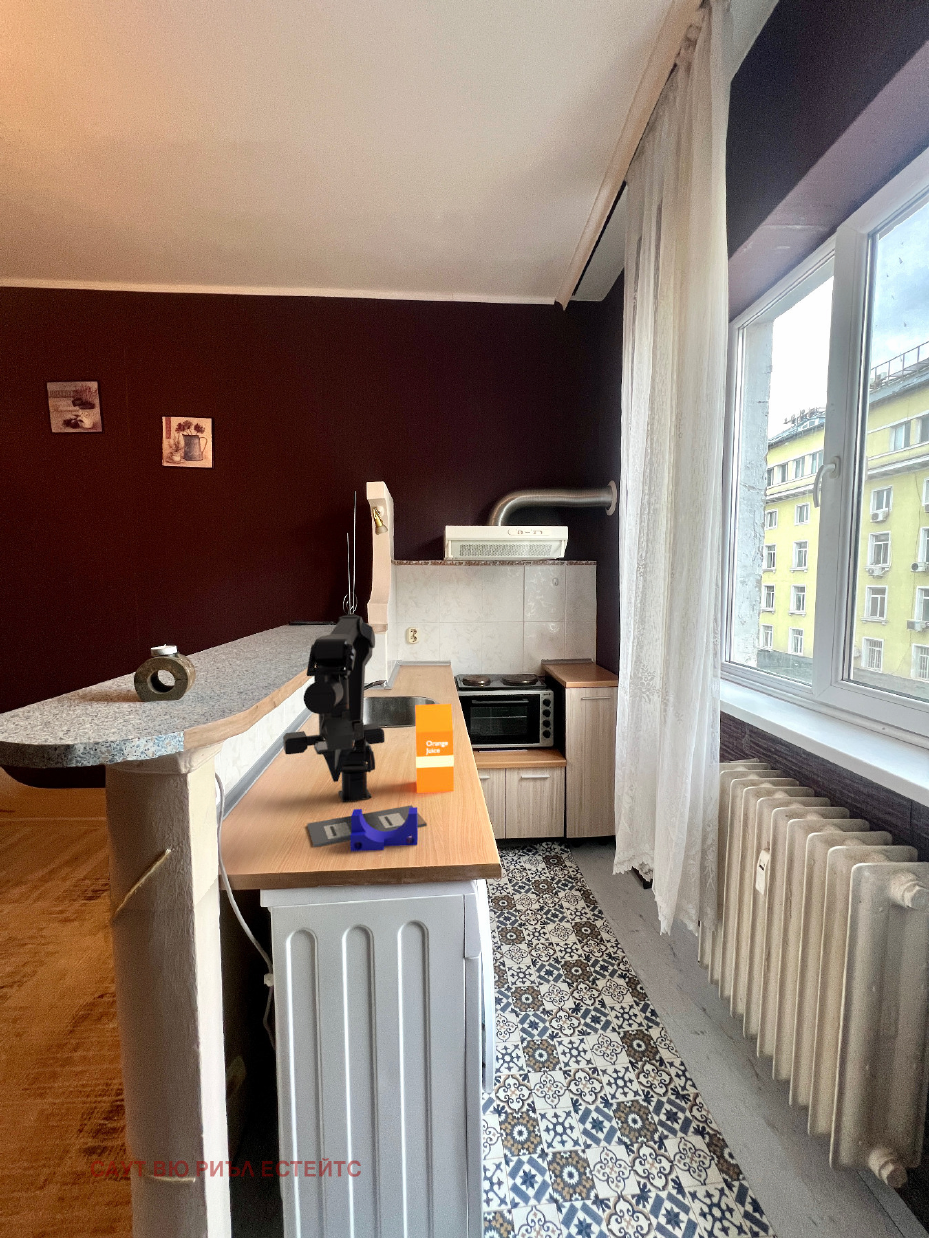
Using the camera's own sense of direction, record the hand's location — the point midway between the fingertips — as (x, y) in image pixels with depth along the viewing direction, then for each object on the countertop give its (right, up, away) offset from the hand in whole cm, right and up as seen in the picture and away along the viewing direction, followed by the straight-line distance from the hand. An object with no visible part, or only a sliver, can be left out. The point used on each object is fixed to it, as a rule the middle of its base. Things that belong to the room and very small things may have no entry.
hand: (335, 781), depth 104 cm
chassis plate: (+6, -10, +3) cm, 12 cm away
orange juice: (+18, -9, +24) cm, 32 cm away
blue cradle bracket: (+10, -10, -5) cm, 16 cm away
